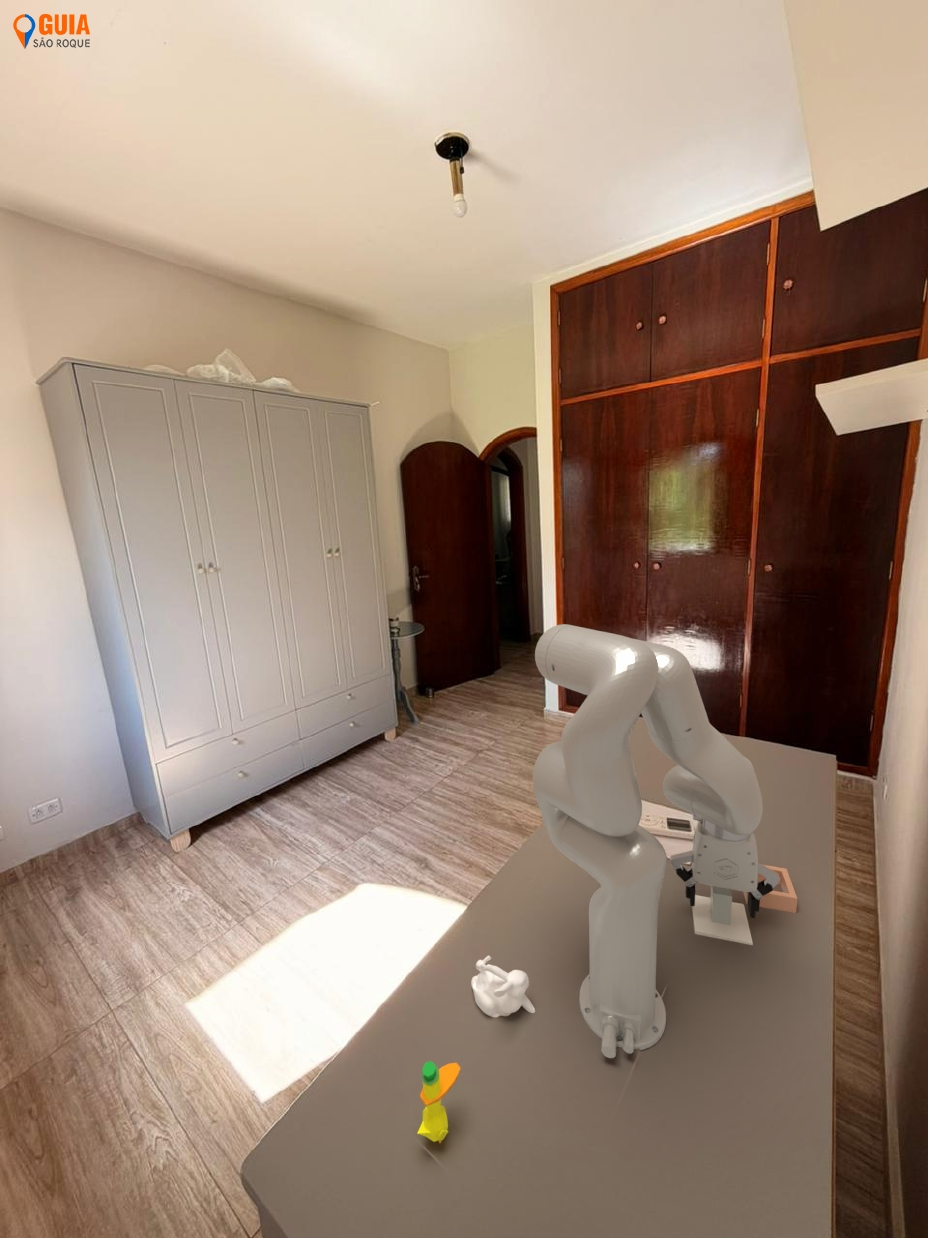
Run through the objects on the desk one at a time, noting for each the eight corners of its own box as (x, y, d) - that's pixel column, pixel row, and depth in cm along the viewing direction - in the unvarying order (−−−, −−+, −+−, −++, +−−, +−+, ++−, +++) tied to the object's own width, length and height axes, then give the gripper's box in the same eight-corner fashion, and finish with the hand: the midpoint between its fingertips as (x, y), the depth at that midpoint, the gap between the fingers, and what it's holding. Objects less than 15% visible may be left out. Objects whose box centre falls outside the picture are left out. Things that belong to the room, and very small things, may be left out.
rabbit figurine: (546, 1016, 77) (544, 964, 75) (520, 1059, 71) (517, 1004, 69) (483, 975, 84) (480, 927, 82) (455, 1011, 78) (451, 960, 76)
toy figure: (454, 1104, 66) (448, 1032, 63) (471, 1129, 63) (466, 1054, 61) (411, 1147, 62) (403, 1071, 59) (428, 1175, 59) (421, 1097, 56)
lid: (752, 948, 85) (755, 913, 84) (694, 935, 88) (696, 902, 87) (743, 908, 93) (745, 876, 92) (690, 898, 97) (692, 867, 95)
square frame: (795, 919, 91) (797, 898, 90) (745, 910, 94) (747, 889, 93) (784, 888, 98) (786, 868, 97) (738, 880, 101) (740, 861, 100)
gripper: (672, 828, 86) (670, 912, 90) (788, 845, 80) (781, 934, 84) (671, 803, 93) (668, 882, 97) (778, 818, 87) (771, 901, 91)
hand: (720, 906), depth 90 cm, fingers open, 9 cm apart
